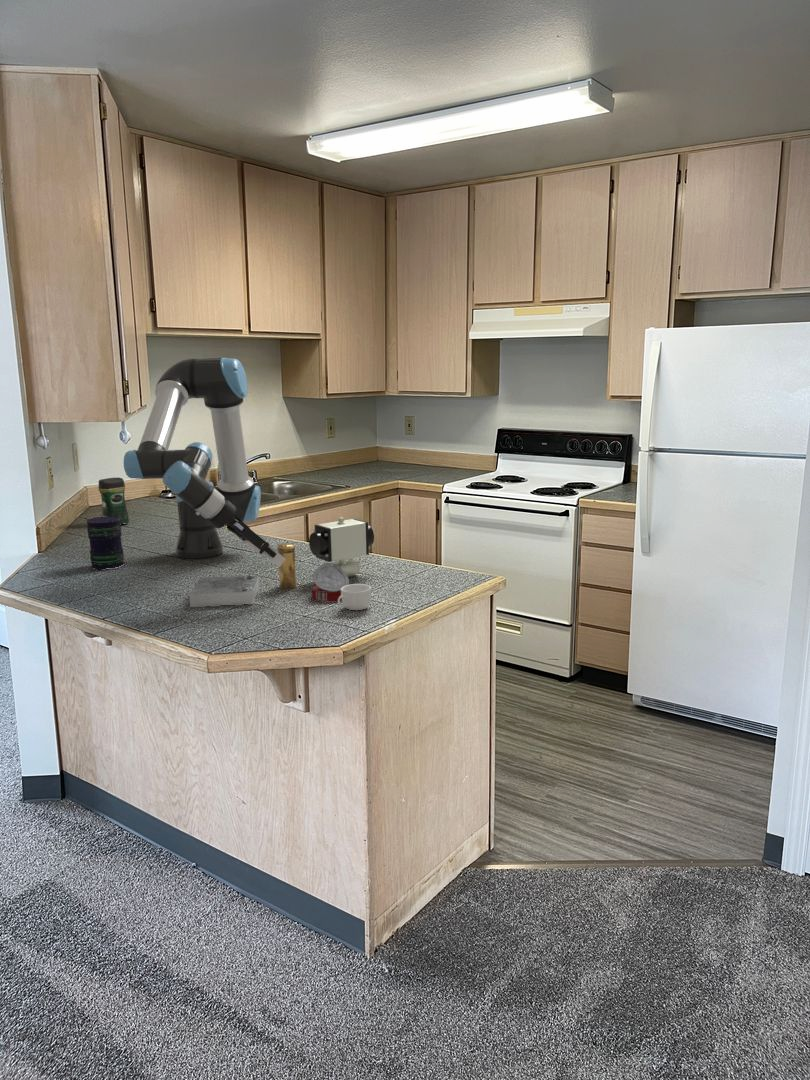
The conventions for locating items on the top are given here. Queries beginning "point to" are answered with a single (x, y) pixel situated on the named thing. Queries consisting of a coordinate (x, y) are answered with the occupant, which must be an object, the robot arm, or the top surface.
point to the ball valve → (342, 543)
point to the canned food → (328, 582)
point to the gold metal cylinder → (287, 566)
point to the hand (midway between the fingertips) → (273, 557)
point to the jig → (224, 591)
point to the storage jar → (105, 542)
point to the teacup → (355, 596)
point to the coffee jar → (113, 498)
